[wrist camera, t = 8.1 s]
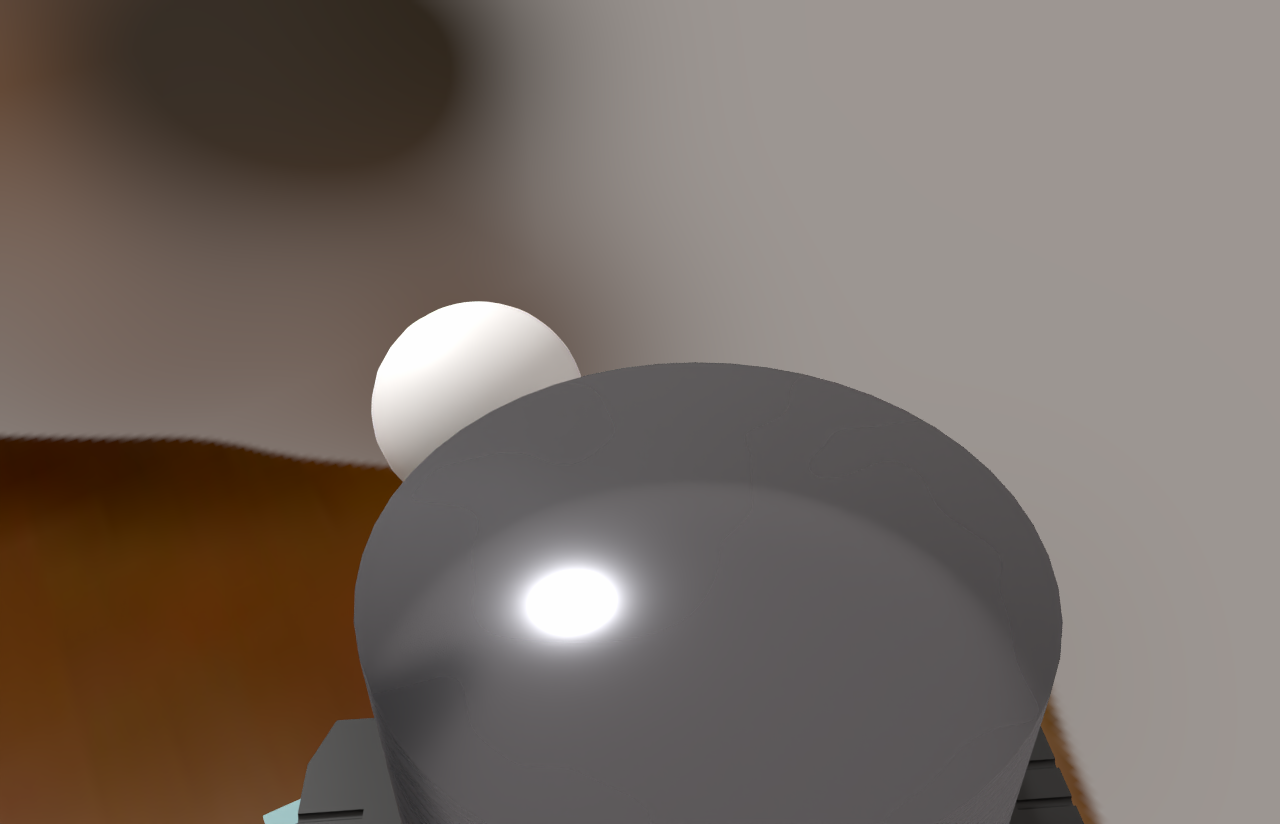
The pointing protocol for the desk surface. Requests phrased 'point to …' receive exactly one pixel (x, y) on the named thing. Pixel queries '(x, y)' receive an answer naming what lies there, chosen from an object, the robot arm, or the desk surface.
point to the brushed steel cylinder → (705, 612)
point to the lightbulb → (459, 375)
